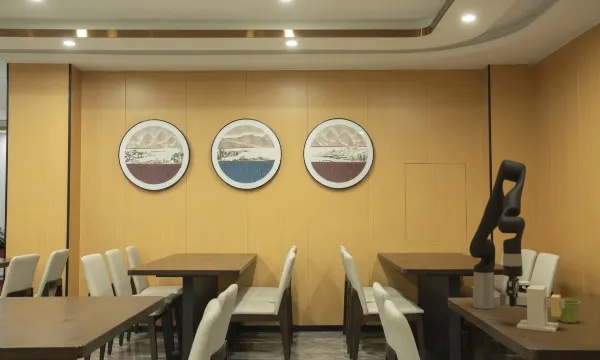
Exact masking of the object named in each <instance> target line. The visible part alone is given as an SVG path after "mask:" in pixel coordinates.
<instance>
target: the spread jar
mask: <svg viewBox="0 0 600 360" xmlns="http://www.w3.org/2000/svg"><path fill="white" fill-rule="evenodd" d="M530 285H531V281H529V280H519V294H518V296H520V297H527V288H528V287H529V286H530ZM517 306H518V307H527V305H517Z"/></svg>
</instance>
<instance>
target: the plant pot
mask: <svg viewBox="0 0 600 360" xmlns="http://www.w3.org/2000/svg"><path fill="white" fill-rule="evenodd" d="M564 300H565V308H564V309H563V308H561V315H560V317H559V318H560V321H561V322H562V323H566V324H567V323H568V324H569V323H571V324H576V323H578V317H579V316H578V315H579V307H580V305H581V301H580V300H575V299H564Z"/></svg>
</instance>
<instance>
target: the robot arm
mask: <svg viewBox="0 0 600 360" xmlns="http://www.w3.org/2000/svg"><path fill="white" fill-rule="evenodd" d="M526 175H527V168H526V165H525V163H522V162H518V161H515V160H511V159H503V160H502V161H501V163H500V165H499V167H498V170H497V174H496V178H495V181H494V185H493V187H492V191H491V193H490V194H489V198H488V200H487V202H486V204H485V205H486V206H485V207H484V211H483V215H482V217H481V219H480V223H479V225H478V227H477V229H476V231H475V233H474V236H473V238H472V240H471V241H470V244H469V253H470V256H471V257H472V258H474V259H480V261H478V263H477V264H475V265H474V266H473V288H472V295H473V296H472V298H473V301H472V302H473V304H472V307H473V308H477V309H479V310H480V309H483V310H492V309H495V277H494V275H495V274H494V273H495V272H494V269H495V266H496V246H495V243H494V241H493V240H492V239H490V238H489V236H490V235H491V234H492V232H494V231H495V230H496V229H497V228H498V230H499V232H500V233H502V234H515V236H514V237H512V238H506V239H504V240H503V241H502V247H503V248H502V249H503V250H502V252H503V256H502V273H503V276H505V277H508V280H507V281H506V289H507V290H506V291H507V296H509V304H508V305H509V307H516V305H515V296H518V294H519V281H520V279H519V277H522V276H523V273H524V272H523V270H524V269H523V255H522V241H523V234H524V231H525V227H526V222H525V219H524V218H523V217H522V216H520V214H521V212H522V201H521V200H522V195H523V190H524V185H525V180H526ZM505 181H508V182H512V183H515V185H514V186H513V187H512V188H511V189H510V190H509V191H508V192H507V193H506V194H505V192H504V182H505Z"/></svg>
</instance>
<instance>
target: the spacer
mask: <svg viewBox="0 0 600 360" xmlns="http://www.w3.org/2000/svg"><path fill="white" fill-rule="evenodd" d="M550 299H551V307H550V314H551V315H550V317H557V318H560V315H561V308H560V299H561V300H562V296H561V294H552V295H551V296H550Z"/></svg>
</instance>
